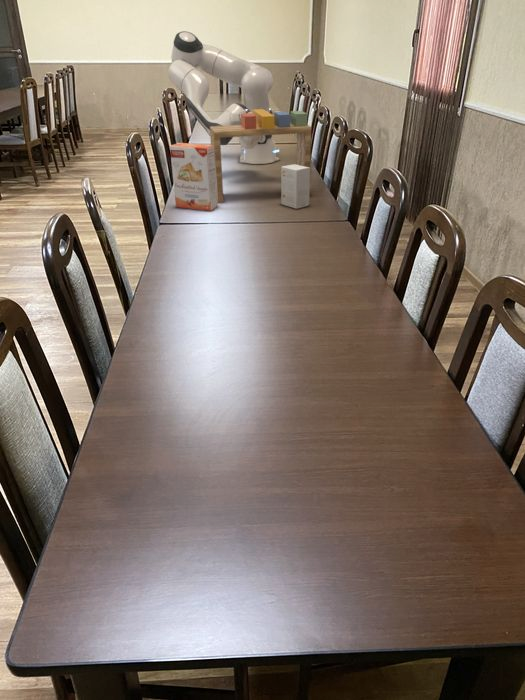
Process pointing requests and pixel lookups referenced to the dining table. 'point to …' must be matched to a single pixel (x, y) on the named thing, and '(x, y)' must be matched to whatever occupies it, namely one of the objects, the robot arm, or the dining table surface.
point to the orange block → (264, 118)
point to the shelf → (239, 131)
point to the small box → (295, 186)
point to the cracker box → (194, 176)
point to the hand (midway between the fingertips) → (258, 110)
